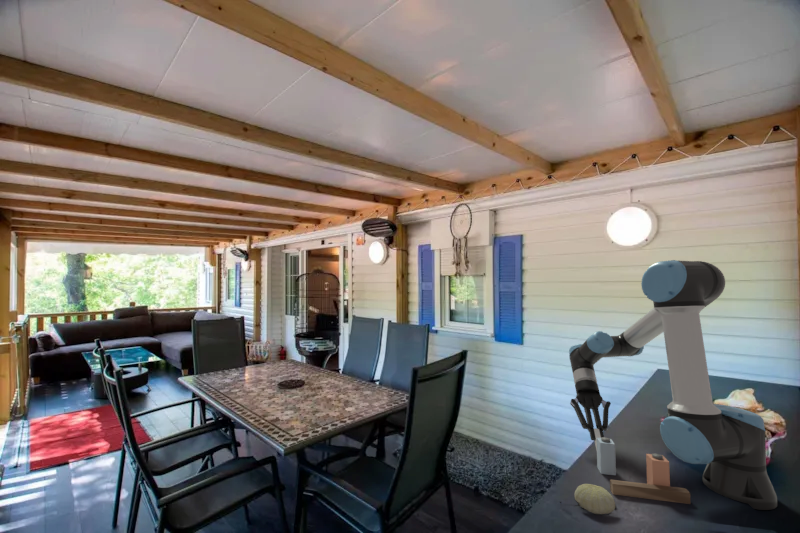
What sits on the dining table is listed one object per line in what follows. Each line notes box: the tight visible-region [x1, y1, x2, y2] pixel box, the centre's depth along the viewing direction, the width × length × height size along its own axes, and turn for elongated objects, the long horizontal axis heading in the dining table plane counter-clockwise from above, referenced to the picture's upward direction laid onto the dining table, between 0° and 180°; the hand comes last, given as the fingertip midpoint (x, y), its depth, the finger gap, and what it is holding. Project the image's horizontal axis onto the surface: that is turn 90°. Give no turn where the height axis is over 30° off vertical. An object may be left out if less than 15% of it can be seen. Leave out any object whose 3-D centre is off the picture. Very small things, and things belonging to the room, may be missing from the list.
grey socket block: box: [596, 436, 617, 476], centre depth 111 cm, size 4×4×10 cm
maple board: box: [609, 479, 691, 505], centre depth 104 cm, size 16×18×4 cm
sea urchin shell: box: [573, 483, 616, 515], centre depth 96 cm, size 9×8×8 cm
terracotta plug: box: [645, 453, 671, 487], centre depth 100 cm, size 4×4×10 cm
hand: (600, 450), depth 117 cm, fingers closed
